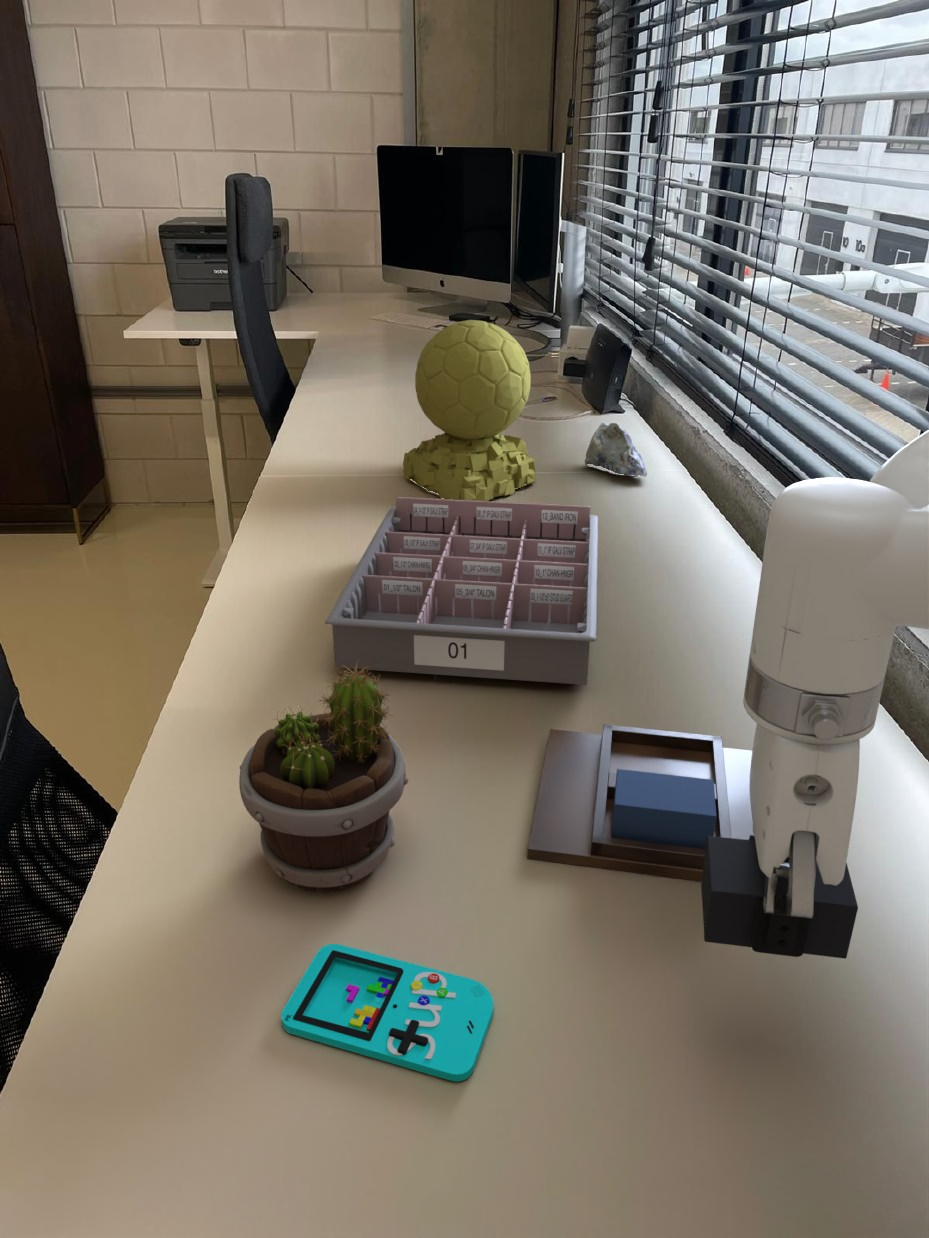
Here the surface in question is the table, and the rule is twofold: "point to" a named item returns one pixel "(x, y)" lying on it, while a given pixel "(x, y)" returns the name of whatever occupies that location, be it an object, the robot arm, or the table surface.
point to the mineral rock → (614, 451)
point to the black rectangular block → (741, 884)
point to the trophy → (471, 413)
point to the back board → (580, 792)
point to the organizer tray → (473, 592)
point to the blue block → (663, 809)
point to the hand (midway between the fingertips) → (771, 914)
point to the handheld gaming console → (391, 1011)
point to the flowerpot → (327, 788)
